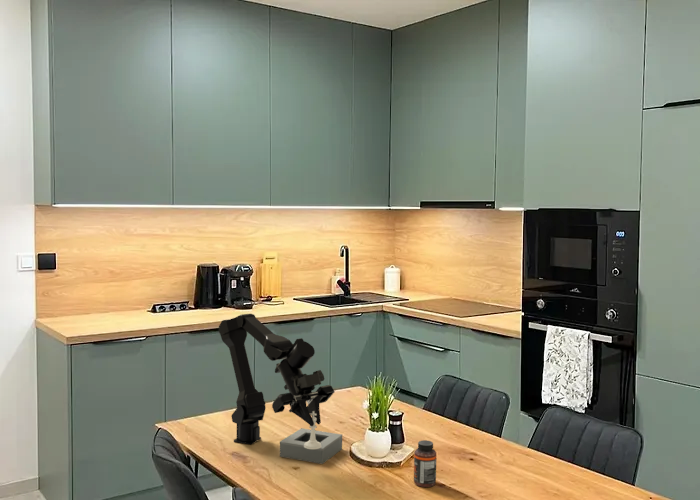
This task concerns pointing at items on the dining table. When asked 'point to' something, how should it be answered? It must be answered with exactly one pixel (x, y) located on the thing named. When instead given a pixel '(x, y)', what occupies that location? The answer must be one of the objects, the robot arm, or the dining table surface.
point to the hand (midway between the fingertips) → (316, 424)
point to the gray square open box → (296, 449)
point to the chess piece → (312, 436)
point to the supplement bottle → (425, 464)
